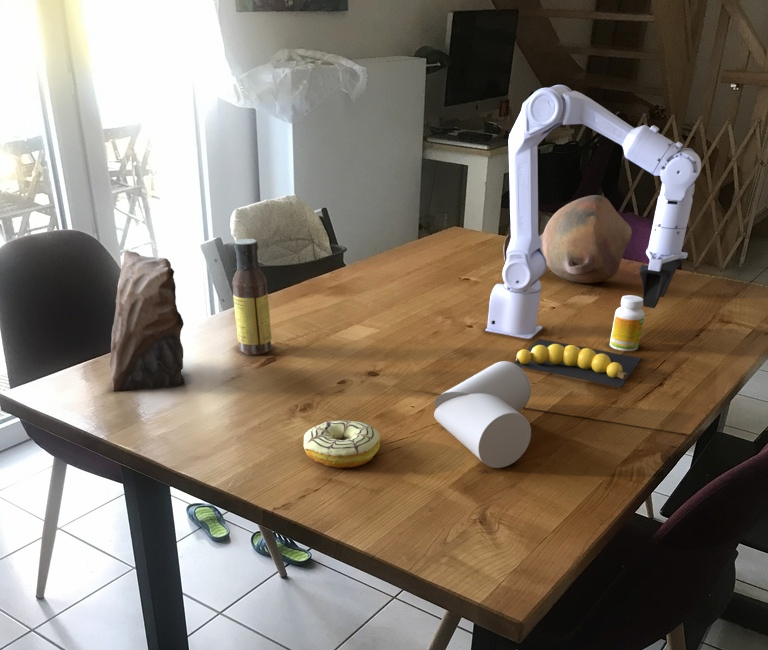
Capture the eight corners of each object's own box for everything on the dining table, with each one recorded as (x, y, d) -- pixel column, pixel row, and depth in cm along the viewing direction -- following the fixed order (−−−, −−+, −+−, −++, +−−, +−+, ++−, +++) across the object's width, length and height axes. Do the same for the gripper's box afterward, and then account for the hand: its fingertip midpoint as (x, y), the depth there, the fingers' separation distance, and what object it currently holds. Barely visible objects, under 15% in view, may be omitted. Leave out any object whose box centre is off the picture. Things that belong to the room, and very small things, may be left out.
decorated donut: (321, 433, 122) (320, 410, 120) (388, 445, 119) (389, 422, 117) (293, 463, 113) (292, 439, 111) (364, 477, 110) (365, 452, 108)
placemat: (511, 366, 146) (511, 364, 146) (538, 340, 159) (539, 338, 158) (620, 389, 139) (621, 387, 139) (641, 360, 151) (641, 358, 151)
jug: (638, 282, 195) (523, 282, 211) (645, 195, 190) (526, 202, 205) (613, 283, 179) (490, 284, 195) (619, 189, 174) (492, 197, 189)
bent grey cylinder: (402, 409, 126) (463, 467, 111) (419, 345, 122) (484, 395, 106) (495, 416, 134) (564, 470, 119) (514, 355, 130) (588, 403, 114)
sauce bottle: (267, 342, 154) (262, 235, 143) (275, 353, 149) (270, 243, 138) (234, 346, 152) (226, 237, 141) (241, 357, 147) (233, 245, 137)
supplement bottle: (638, 353, 154) (648, 303, 149) (609, 351, 155) (618, 301, 150) (636, 344, 158) (646, 295, 153) (608, 341, 159) (617, 292, 154)
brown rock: (130, 362, 144) (112, 248, 133) (200, 364, 144) (189, 250, 133) (108, 390, 133) (88, 268, 122) (185, 393, 133) (171, 271, 122)
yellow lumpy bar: (513, 366, 146) (515, 346, 143) (520, 354, 151) (522, 335, 149) (625, 383, 140) (629, 362, 138) (628, 370, 145) (632, 350, 143)
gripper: (685, 236, 134) (668, 315, 142) (700, 220, 145) (683, 295, 153) (643, 230, 137) (628, 309, 144) (660, 215, 148) (645, 289, 155)
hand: (653, 301), depth 149 cm, fingers open, 7 cm apart
